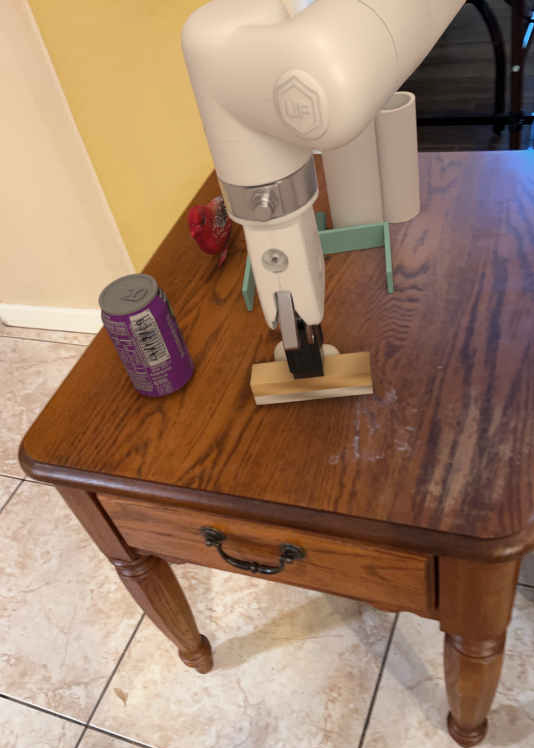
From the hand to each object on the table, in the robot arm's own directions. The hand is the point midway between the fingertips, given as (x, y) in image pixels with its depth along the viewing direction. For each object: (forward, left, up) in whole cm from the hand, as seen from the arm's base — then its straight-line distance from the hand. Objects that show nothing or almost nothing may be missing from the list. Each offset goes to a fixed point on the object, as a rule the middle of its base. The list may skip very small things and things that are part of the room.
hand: (307, 355), depth 69 cm
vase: (-7, -31, -6) cm, 32 cm away
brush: (0, 0, -5) cm, 5 cm away
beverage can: (+17, -5, -6) cm, 19 cm away
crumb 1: (+3, -5, -4) cm, 7 cm away
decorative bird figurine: (+12, -29, -6) cm, 32 cm away
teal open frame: (0, -23, -5) cm, 23 cm away
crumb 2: (-1, -3, -4) cm, 5 cm away
